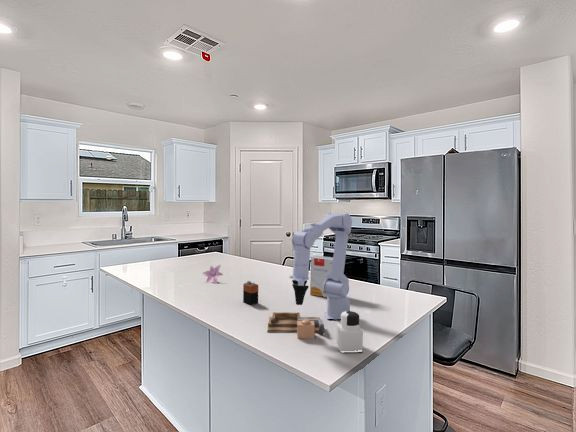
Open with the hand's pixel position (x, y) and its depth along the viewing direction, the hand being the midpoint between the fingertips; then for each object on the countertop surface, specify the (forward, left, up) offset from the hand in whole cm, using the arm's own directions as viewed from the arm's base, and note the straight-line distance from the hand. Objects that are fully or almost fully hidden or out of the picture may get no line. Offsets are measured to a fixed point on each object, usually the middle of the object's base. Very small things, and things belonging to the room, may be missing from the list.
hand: (298, 302), depth 118 cm
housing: (+1, -10, -12) cm, 16 cm away
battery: (+21, -38, -13) cm, 45 cm away
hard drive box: (-17, -52, -13) cm, 56 cm away
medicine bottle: (-17, +10, -13) cm, 23 cm away
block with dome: (-3, +1, -12) cm, 13 cm away
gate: (-5, -4, -12) cm, 14 cm away
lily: (+48, -79, -13) cm, 93 cm away
